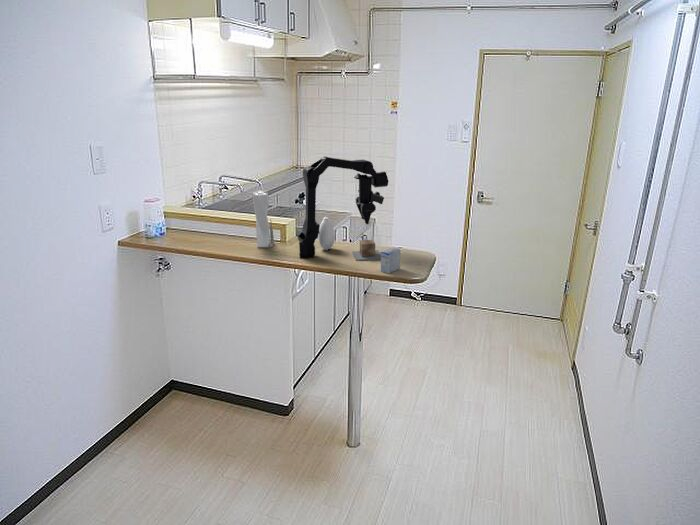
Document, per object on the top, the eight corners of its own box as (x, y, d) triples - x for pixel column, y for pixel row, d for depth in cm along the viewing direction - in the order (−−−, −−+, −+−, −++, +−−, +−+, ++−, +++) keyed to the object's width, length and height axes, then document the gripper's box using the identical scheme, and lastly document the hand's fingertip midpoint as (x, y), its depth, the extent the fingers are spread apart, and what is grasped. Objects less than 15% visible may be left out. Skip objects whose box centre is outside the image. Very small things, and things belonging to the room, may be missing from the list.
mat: (356, 260, 219) (356, 259, 219) (352, 252, 231) (352, 251, 230) (383, 259, 221) (383, 258, 221) (377, 251, 232) (377, 249, 232)
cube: (362, 257, 222) (361, 244, 220) (359, 253, 228) (359, 240, 226) (375, 256, 223) (375, 243, 221) (372, 252, 229) (372, 239, 227)
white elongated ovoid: (333, 252, 231) (332, 214, 225) (316, 251, 233) (315, 213, 227) (336, 247, 238) (336, 210, 233) (320, 246, 240) (319, 209, 234)
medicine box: (391, 266, 212) (391, 246, 209) (400, 268, 209) (400, 248, 207) (380, 271, 206) (380, 251, 204) (389, 273, 204) (389, 253, 201)
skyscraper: (271, 248, 238) (267, 190, 229) (254, 248, 238) (250, 190, 229) (274, 243, 246) (270, 186, 237) (258, 243, 246) (253, 186, 237)
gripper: (387, 191, 219) (386, 226, 224) (378, 184, 237) (378, 216, 242) (362, 192, 218) (362, 227, 223) (355, 184, 235) (355, 217, 240)
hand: (365, 221), depth 232 cm, fingers open, 9 cm apart
